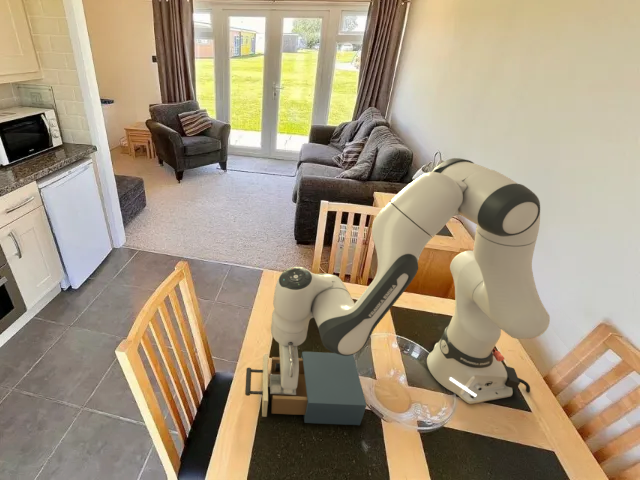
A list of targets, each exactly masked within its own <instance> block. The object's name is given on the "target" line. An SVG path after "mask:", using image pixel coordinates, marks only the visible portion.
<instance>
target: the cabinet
mask: <svg viewBox="0 0 640 480" xmlns="http://www.w3.org/2000/svg"><path fill="white" fill-rule="evenodd" d="M300 358H303V366H304V375H305V383H306V392H307V400H308V402H307V408H306V413H305V415H303V421H304V424H319V425H321V424H322V425H344V426H345V425H346V426H361V423H362V421H363V418H364V414H365V411H366V408H367V405H368V404H367V401H366V398H365V394H364V391H363V390H364V389H363V387H362V383H361V380H360V376H359V372H358V369H357V364H356V361H355V357H354V354H353V355H350V356H343V355H339V354H336V353H334V352H320V351H319V352H318V351H302V352H301V357H300Z"/></svg>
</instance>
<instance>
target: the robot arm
mask: <svg viewBox="0 0 640 480" xmlns="http://www.w3.org/2000/svg"><path fill="white" fill-rule="evenodd" d="M458 215H459V216H461V217H463V218H464V219H467V220H468V221H470V222H471V223H473V224H475V225H476V227H475V235H474V241H473V250H465V251H462V252H460V253H458V254H457V255H455V256H454V257H453V258H452V260H451V262H450V264H449V271H450V273H451V276H452V279H453V285H454V299H455V300H454V302H455V303H454V309H453V310H454V311H453V314H452V317H451V318H450V321H449V324H448V325H447V326H446V327H445V329H444V330H443V333H442V335H441V338H440V339H439V341H438V342H436V343H435V344H434V345H433V346H434V347H433V350H432V351H430V353H429V354H428V355H427V358H426V365H427V368H428V370H429V373H430V374H431V375H432V377H433V378H434V379H435V380H436V381H437V382H438V383H439V384H440V385H441V386H442V387H444V388H445V389H446V390H448V391H450V392H452V393H454V394H455V395H457V396H458V397H459V398H460V399H462V401H464V402H465V403H467V404H468V405H469V404H470V405H472V404H473V405H474V404H479V403H484V402H490V401H495V400H499V399H505V398H511V397H512V396H513V393H514V391H513V390H517V388H519V386H520V384H522V385H524V386H525V391H526V393H528V394H530V393H531V386H530V384H529V383H528V382H527V381H525V380H524V379H522V378H520V377H518V374H517V372H516V370H515V368H514V367H510V366H508V365H504V364H503V361H504V360H505V357H504V355H502V353H501V351H499V350H496V348H495V347H496V345H497V343H498V341H499V340H500V338H501V335H502V331H503V332H504V333H505V334H507V335H508V336H509V337H511V338H512V339H513V338H514V339H515V340H523V341H524V340H525V341H526V340H532V339H536V338H538V337H541V336H542V335H543V334H545V332H546V331H547V330H548V328H549V326H550V322H551V317H550V314H549V312H548V311H547V309H546V307H545V306H544V304H543V302H542V300H541V297H540V295H539V292H538V288H537V285H536V282H535V277H534V272H533V258H534V254H535V253H534V252H535V247H536V244H537V239H538V235H539V230H540V224H541V201H540V199H539V197H538V195H537V194H536V193H535V192H533V191H532V190H531V189H530V188H528V187H527V186H525V185H524V184H522V183H518V182H516V181H514V180H513V179H512V178H510V177H508V176H507V175H504V174H502V173H501V172H499V171H497V170H495V169H490V168H488V167H485V166H483V165H480V164H477V163H475V162H473V161H472V160H469V159H465V158H458V157H457V158H456V157H454V158H448V159H447V160H446V159H445V160H444V161H443V162H440V163H439V164H438V165H437V166H435V167H434V169H433V170H432V171H429V172H424V173H423V174H422V175H420V176H418V177H416V179H415V178H414V180H413V181H411V182H410V183H408V184H407V185H406V186H405V187H404V188H402V189H401V190H400V191H398V193H397V194H395V195H394V196H393V197H392V199H390V201H388V202H387V203H386V204H385V206H383V207H382V208H381V209H380V211H379V212H378V213H377V215H375V217H374V220H373V221H372V225H371V226H372V227H371V232H372V233H371V235H372V241H373V245H374V247H375V252H376V258H377V269H376V273H375V275H374V278H373V280H372V281H371V283H369V285H368V286H367V288H366V289H365V290H364V291H363V293H362V294H361V295H360V296H359V298H358V299H357V300H356V301H354V299H353V297H352V296H351V294H350V292H349V290H348V289H347V286H346V284H344V282H343V280H342V278H341V277H339V276H338V275H336V274H333V273H328V272H327V273H314V272H311V271H310V269H307V268H305V267H303V266H291V267H288V268H286V269H284V270H283V271H282V272H281V273H280V274H279V277H278V279H277V280H276V284H275V288H274V294H273V303H272V304H273V310H272V313H271V324H270V326H271V327H270V334H271V336H272V339H274V340H275V342H277V343H278V349H279V351H278V353H279V357H280V374H281V386H282V388H284V389H296V388H297V385H298V375H299V360H298V358H299V351H298V346H300V345H302V344H303V343H304V342H305V341H306V339H307V337H308V330H309V325H310V320H311V319H314V321H315V323H316V326H317V328H318V332H319V336H320V337H319V338H320V340H321V343H322V346H323V347H324V348H325V349H326V350H328V351H330V352H331V353H336V354H339V355H343V356H350V355H353V356H354V355H355V354H357V353H359V352H360V351H362V349H363V348H364V347H365V346H366V344H367V343H368V342H369V339H370V338H371V336H372V334H373V332H374V330H375V329H376V328H377V326H378V325H379V323H380V322H381V321H382V320H383V318H384V317H385V316H386V314H387V313H388V312H389V311H390V310H391V309H392V307H393V306H394V305H395V304H396V302H397V301H398V300H399V298H400V297H401V296H402V295H403V293H404V292H405V291H406V290H407V288H409V286H410V284H411V283H412V282H413V280H414V279H415V277H416V276H417V274H418V270H419V259H420V258H421V255H422V253H423V251H424V249H425V248H426V246H427V245H428V244H429V242H430V241H432V239H433V238H434V237H436V235H438V233H440V231H442V229H443V228H444V227H445V226H446V225H447V223H449V222H450V220H451V219H452V218H453V217H455V216H458Z"/></svg>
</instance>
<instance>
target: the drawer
mask: <svg viewBox="0 0 640 480" xmlns="http://www.w3.org/2000/svg"><path fill="white" fill-rule="evenodd" d="M268 355H269V354H268V353H263V356H262V369H256V368H255V369H254V368H252V367H246V371H245V388H244V389H245V390H244V391H245V392H244V395H245V396H247V397H249V396H251V395H259V396H261V398H262V399H261V417H264V418H267V417H268V405H269V367H268V365H269V364H268V363H269V361H268ZM298 360H299V375H298V385H297V388H296V396H273V400H270V402H271V405H270V406H271V408H270V409H271V414H273V415H274V414H276V415H294V416H295V415H297V416H304V415H305V413H306V408H307V402H308V400H307V392H306V383H305V375H304V366H303V358H301V357H298ZM275 363H280V356H272V357H271V364H270V374H278V375H281V374H280V372H275ZM252 373H258V374H261V386H262V387H261V390H252Z"/></svg>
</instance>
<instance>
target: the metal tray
mask: <svg viewBox="0 0 640 480" xmlns="http://www.w3.org/2000/svg"><path fill="white" fill-rule="evenodd" d="M275 372H280V363H275ZM268 388H269V400H270V401H271V400H273V396H296V389H284V388H282V386H281V375H278V374H271V373H270V374H269V378H268Z"/></svg>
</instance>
